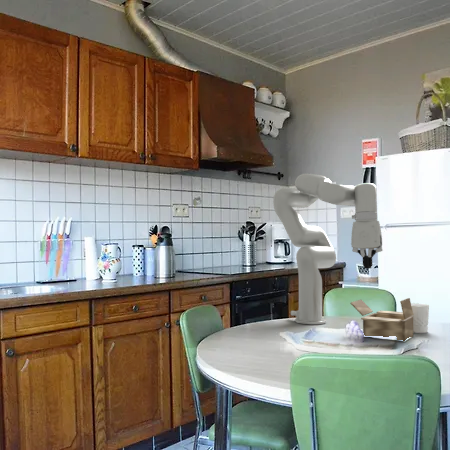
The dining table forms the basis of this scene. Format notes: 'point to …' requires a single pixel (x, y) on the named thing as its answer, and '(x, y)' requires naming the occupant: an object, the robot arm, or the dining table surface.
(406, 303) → the flap
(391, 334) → the carton
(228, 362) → the dining table surface
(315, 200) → the robot arm
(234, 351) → the dining table surface
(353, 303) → the flap
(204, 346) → the dining table surface
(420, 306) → the white cup
